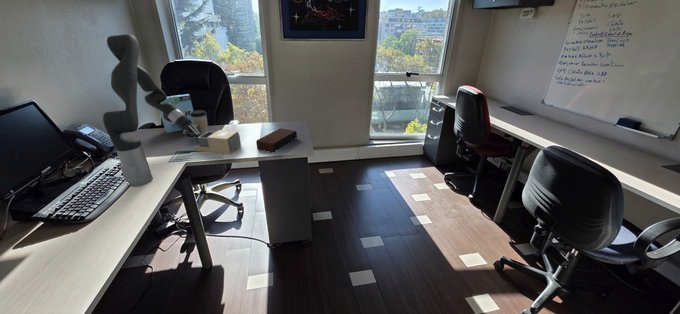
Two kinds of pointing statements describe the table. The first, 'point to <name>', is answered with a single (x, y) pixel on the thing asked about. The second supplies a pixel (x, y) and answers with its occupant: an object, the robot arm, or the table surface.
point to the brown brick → (276, 140)
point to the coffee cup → (200, 120)
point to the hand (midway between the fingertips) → (203, 140)
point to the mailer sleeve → (218, 142)
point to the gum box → (183, 105)
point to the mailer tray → (233, 141)
